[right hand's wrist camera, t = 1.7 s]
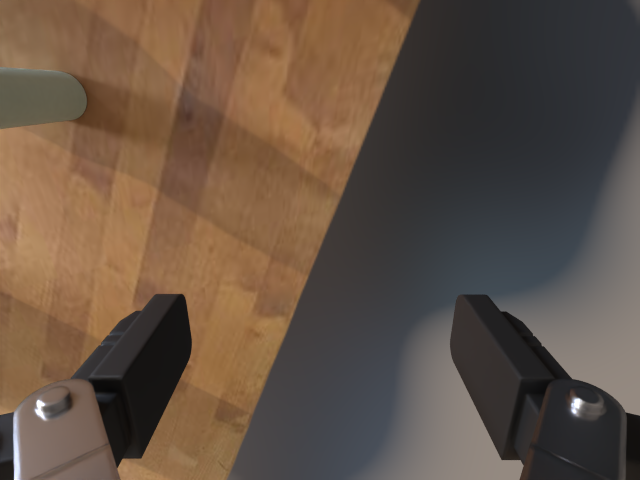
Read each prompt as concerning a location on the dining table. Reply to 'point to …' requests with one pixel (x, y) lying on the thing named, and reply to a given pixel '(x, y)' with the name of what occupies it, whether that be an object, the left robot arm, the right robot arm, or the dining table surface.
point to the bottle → (39, 97)
